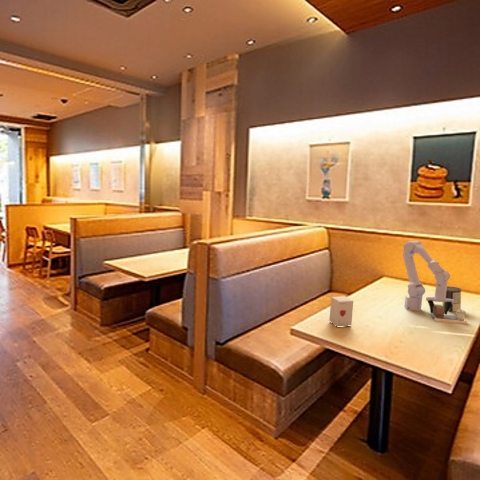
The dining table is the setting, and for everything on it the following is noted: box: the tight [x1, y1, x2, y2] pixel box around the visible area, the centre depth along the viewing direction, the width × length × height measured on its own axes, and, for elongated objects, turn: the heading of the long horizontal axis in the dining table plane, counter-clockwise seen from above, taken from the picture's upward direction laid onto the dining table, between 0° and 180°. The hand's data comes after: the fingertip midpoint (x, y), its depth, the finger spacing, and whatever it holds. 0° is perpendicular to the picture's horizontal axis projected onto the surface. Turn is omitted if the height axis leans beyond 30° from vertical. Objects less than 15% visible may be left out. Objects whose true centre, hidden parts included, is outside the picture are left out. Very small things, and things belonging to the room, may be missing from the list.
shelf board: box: [428, 312, 468, 325], centre depth 214 cm, size 16×13×2 cm
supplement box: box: [328, 295, 354, 327], centre depth 201 cm, size 9×9×15 cm
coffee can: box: [441, 286, 462, 313], centre depth 229 cm, size 10×10×14 cm
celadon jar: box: [455, 309, 466, 321], centre depth 210 cm, size 5×5×7 cm
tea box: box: [432, 303, 445, 318], centre depth 217 cm, size 7×4×6 cm, turn 168°
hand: (438, 313), depth 217 cm, fingers open, 7 cm apart
